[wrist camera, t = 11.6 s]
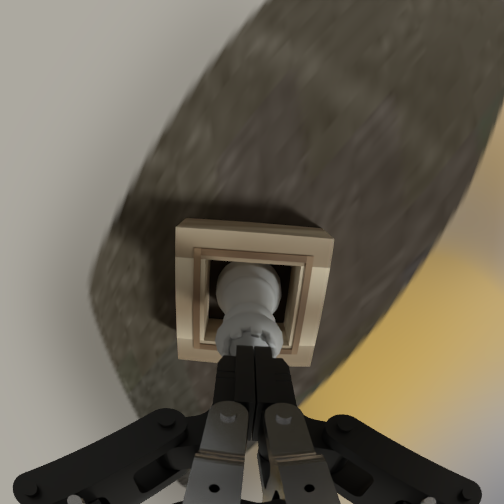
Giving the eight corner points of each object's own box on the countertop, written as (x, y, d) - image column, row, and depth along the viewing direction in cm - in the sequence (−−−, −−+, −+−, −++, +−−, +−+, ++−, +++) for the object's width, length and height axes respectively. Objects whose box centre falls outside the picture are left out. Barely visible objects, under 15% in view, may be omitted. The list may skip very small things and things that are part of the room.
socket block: (186, 217, 19) (175, 227, 16) (321, 228, 19) (334, 239, 16) (185, 335, 22) (178, 359, 19) (302, 343, 22) (310, 367, 19)
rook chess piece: (206, 299, 21) (186, 369, 13) (232, 244, 20) (223, 294, 12) (263, 323, 21) (269, 398, 14) (292, 271, 20) (316, 333, 13)
